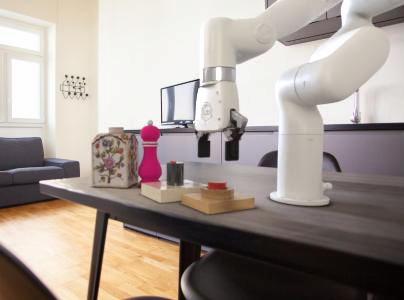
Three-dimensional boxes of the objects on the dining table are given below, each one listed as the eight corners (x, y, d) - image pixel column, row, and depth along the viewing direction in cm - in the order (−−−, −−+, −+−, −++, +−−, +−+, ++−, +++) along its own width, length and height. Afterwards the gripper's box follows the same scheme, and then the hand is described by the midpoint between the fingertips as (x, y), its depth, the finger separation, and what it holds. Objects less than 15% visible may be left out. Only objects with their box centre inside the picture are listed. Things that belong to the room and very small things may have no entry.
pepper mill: (162, 189, 84) (162, 119, 83) (137, 188, 84) (137, 119, 83) (161, 184, 92) (162, 120, 91) (138, 184, 92) (138, 120, 91)
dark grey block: (187, 184, 73) (187, 161, 73) (171, 186, 71) (171, 162, 71) (178, 182, 77) (178, 160, 77) (163, 183, 75) (163, 160, 75)
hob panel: (186, 190, 83) (186, 179, 82) (210, 197, 73) (210, 185, 72) (141, 194, 76) (141, 182, 76) (160, 203, 66) (160, 189, 66)
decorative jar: (139, 182, 96) (139, 127, 95) (128, 188, 85) (128, 126, 84) (105, 181, 99) (105, 127, 98) (90, 187, 87) (89, 126, 86)
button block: (223, 198, 71) (224, 182, 71) (254, 208, 62) (254, 189, 62) (181, 203, 66) (181, 186, 66) (208, 214, 57) (208, 194, 57)
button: (218, 187, 67) (218, 179, 67) (230, 190, 63) (230, 182, 63) (204, 188, 65) (204, 180, 65) (215, 191, 61) (215, 183, 61)
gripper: (181, 84, 69) (181, 157, 70) (230, 69, 54) (229, 163, 55) (208, 87, 73) (207, 156, 73) (261, 73, 57) (259, 161, 58)
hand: (216, 159), depth 64 cm, fingers open, 9 cm apart
